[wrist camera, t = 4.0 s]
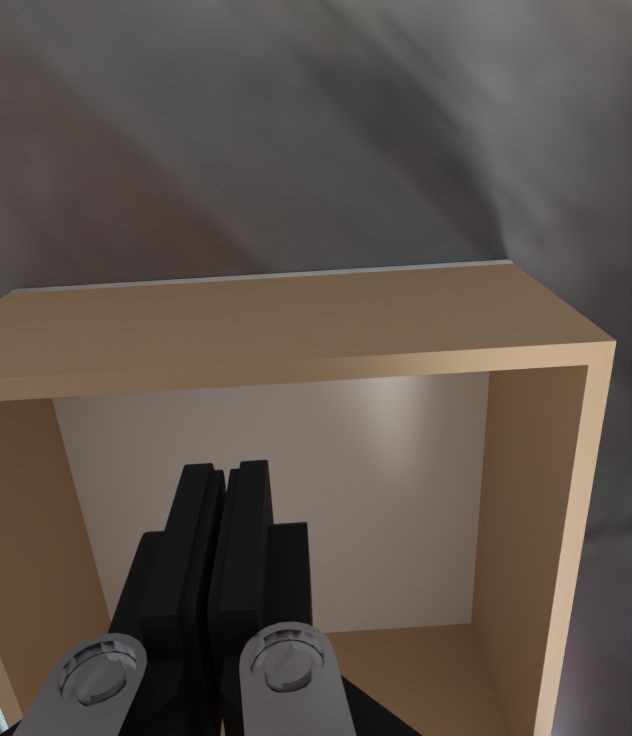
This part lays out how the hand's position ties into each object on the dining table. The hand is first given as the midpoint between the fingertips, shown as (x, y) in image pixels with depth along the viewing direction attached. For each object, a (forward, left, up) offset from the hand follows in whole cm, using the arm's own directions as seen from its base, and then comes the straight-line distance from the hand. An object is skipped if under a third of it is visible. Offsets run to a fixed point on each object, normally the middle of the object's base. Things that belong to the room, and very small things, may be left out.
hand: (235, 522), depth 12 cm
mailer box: (+7, 0, -11) cm, 13 cm away
